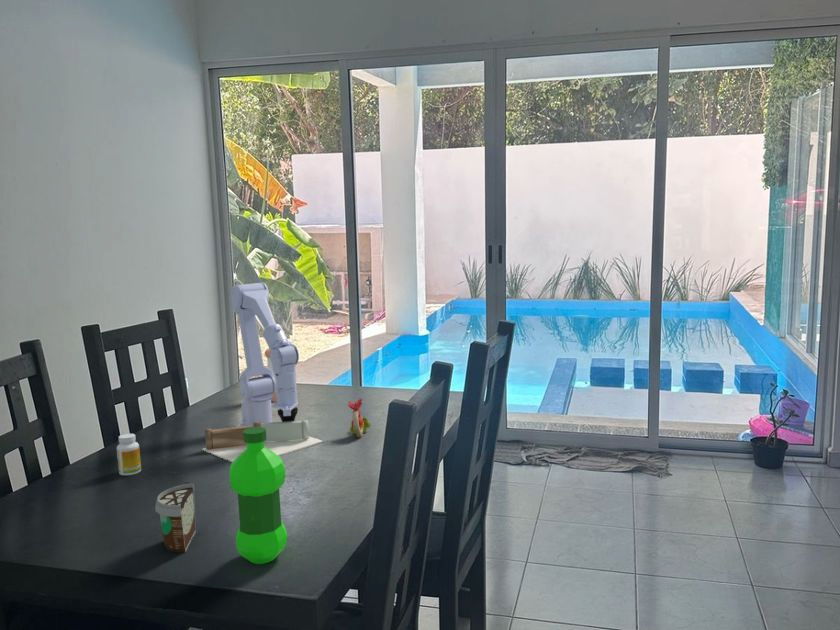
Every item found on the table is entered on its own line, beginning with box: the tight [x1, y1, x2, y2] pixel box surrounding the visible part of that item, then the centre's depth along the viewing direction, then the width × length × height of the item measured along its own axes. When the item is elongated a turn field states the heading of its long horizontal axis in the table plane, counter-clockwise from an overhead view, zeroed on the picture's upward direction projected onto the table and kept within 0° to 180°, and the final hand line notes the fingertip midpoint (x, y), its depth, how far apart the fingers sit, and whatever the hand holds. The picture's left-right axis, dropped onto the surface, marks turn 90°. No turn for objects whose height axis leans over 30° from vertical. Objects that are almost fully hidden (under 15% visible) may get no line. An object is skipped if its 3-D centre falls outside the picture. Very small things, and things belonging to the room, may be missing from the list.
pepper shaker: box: [264, 348, 277, 403], centre depth 255 cm, size 7×7×19 cm
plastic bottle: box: [228, 427, 288, 565], centre depth 137 cm, size 10×10×25 cm
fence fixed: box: [204, 422, 261, 450], centre depth 204 cm, size 2×15×6 cm, turn 106°
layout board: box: [201, 435, 324, 463], centre depth 205 cm, size 21×26×1 cm
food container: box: [154, 483, 197, 553], centre depth 145 cm, size 12×6×10 cm, turn 5°
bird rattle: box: [347, 398, 371, 439], centre depth 211 cm, size 6×11×9 cm
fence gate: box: [262, 419, 310, 442], centre depth 207 cm, size 2×13×5 cm, turn 97°
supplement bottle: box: [116, 433, 142, 476], centre depth 186 cm, size 5×5×10 cm
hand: (289, 433), depth 209 cm, fingers closed
